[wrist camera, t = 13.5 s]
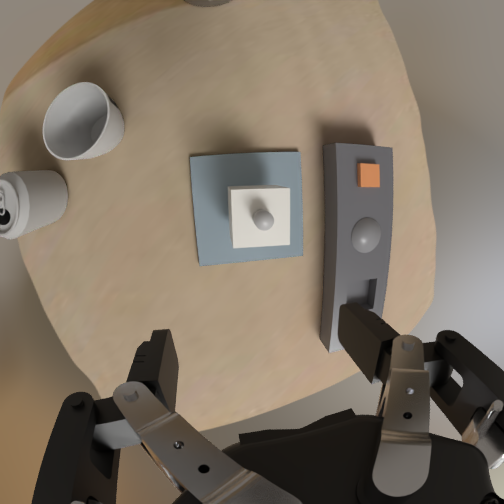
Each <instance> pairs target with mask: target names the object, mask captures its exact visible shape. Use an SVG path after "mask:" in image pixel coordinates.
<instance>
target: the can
mask: <svg viewBox="0 0 504 504" xmlns="http://www.w3.org/2000/svg"><path fill="white" fill-rule="evenodd" d="M67 200H68V192H67V186H66V184H65V181H64V179H63V178H62V177H61V175H60V174H58V173H57V172H55V171H51V170H37V171H18V172H8V173H5V174H2V175H1V176H0V236H1V237H4V238H7V239H14V238H17V237H20V236H22V235H24V234H27V233H29V232H31V231H34V230H36V229H39V228H41V227H44V226H46V225H49V224H51V223H54V222H55V221H57V220H58V219H60V217H61V216H62V215H63V213H64V211H65V209H66V206H67Z"/></svg>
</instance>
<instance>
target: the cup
mask: <svg viewBox="0 0 504 504" xmlns="http://www.w3.org/2000/svg"><path fill="white" fill-rule="evenodd" d="M123 135H124V119H123V116H122V114H121V112H120V110H119V108H118V107H117V105H116V103H115V102H114V101H113V100H112V99H111V98H110V97H109V96H108V95H107V94H106V93H105V92H104V91H103V90H102V89H101V88H100V87H99V86H98V85H96V84H93V83H89V82H81V83H76V84H74V85H71V86H69V87H67V88H66V89H64V90H63V91H62V92H61V93H60V94H59V95H58V96H57V97H56V98H55V99H54V100H53V102H52V103H51V105H50V106H49V108H48V110H47V113H46V115H45V118H44V123H43V139H44V143H45V145H46V147H47V149H48V151H49V152H50V153H51V154H52V155H53V156H55V157H56V158H58V159H62V160H77V159H89V158H93V157H96V156H100V155H103V154H106V153H108V152H109V151H111V150H112V149H113V148H115V147H116V146H117V145H118V144H119V143H120V141H121V140H122V138H123Z"/></svg>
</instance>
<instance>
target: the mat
mask: <svg viewBox="0 0 504 504" xmlns="http://www.w3.org/2000/svg"><path fill="white" fill-rule="evenodd" d="M190 167H191V181H192V194H193V206H194V217H195V227H196V237H197V247H198V256H199V264H200V266H207V265H217V264H227V263H237V262H247V261H257V260H267V259H276V258H286V257H295V256H303V208H302V177H301V155H300V152H260V153H237V154H221V155H208V156H197V157H190ZM253 185H279V186H283V187H287V188H290V245H280V246H264V247H248V248H233V246H232V242H231V238H230V232H229V209H228V186H253Z"/></svg>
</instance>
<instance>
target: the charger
mask: <svg viewBox="0 0 504 504" xmlns="http://www.w3.org/2000/svg"><path fill="white" fill-rule="evenodd" d="M228 209H229V232H230V238H231V242H232V246H233V248H248V247H264V246H280V245H290V188H287V187H283V186H279V185H253V186H228Z"/></svg>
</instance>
